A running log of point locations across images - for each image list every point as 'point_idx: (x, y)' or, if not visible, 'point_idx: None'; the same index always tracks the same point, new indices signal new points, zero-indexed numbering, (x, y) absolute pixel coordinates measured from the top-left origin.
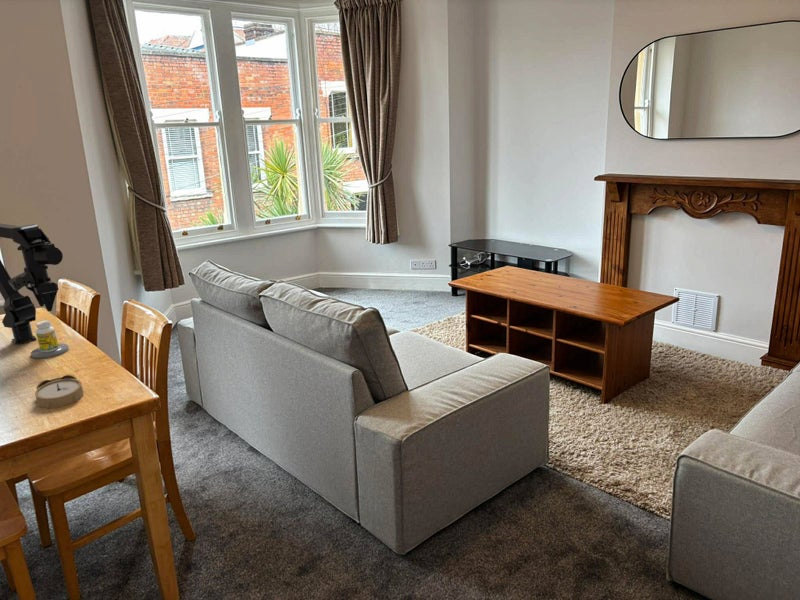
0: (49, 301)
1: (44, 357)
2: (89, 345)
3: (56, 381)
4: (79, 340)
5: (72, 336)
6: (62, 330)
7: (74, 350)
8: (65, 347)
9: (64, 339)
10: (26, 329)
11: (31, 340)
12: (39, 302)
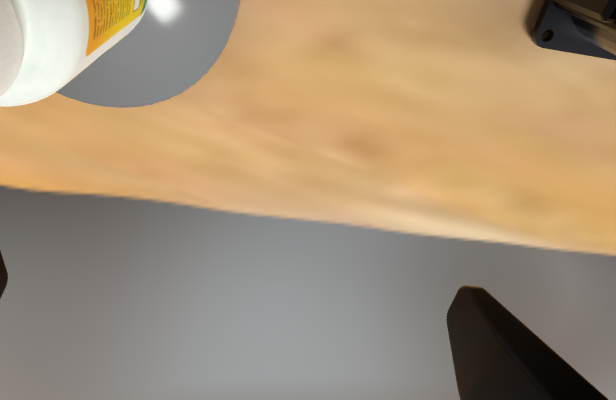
0: None
1: None
2: (49, 189)
3: None
4: (211, 196)
5: (336, 205)
6: (518, 220)
7: None
8: None
9: (326, 156)
10: (611, 2)
11: (547, 1)
12: (489, 340)
